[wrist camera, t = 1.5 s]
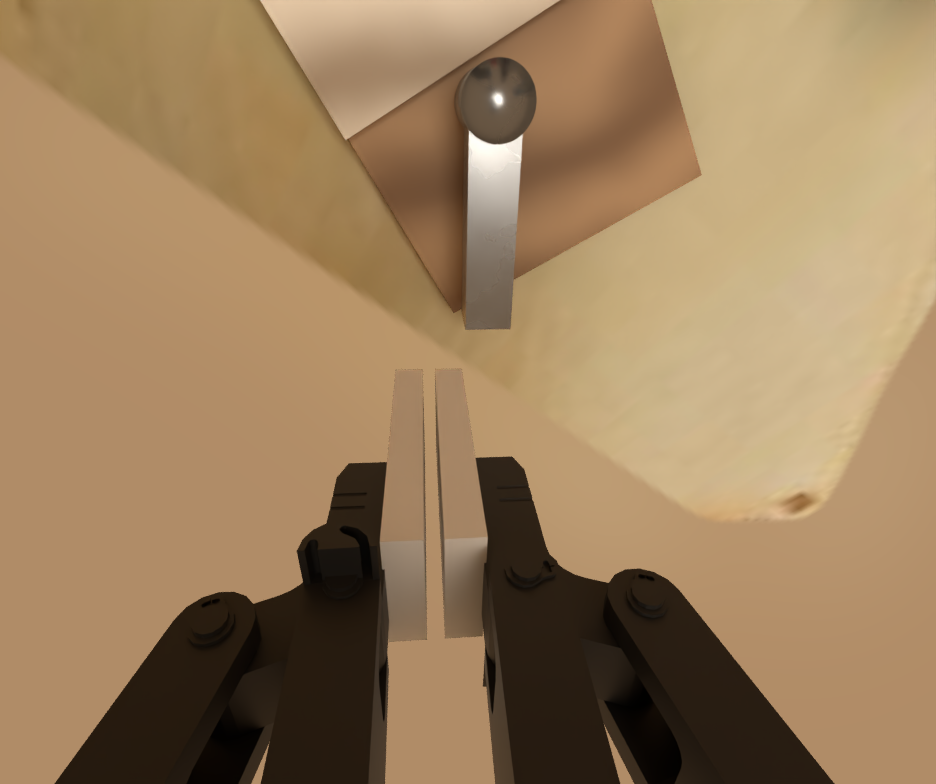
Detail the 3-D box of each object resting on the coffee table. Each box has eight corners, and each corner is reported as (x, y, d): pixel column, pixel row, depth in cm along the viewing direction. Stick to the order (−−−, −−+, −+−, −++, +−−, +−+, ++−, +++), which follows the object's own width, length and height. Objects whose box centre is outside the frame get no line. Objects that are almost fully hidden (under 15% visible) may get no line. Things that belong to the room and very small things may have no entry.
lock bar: (454, 64, 25) (461, 55, 21) (519, 65, 25) (539, 58, 21) (453, 301, 31) (458, 334, 27) (505, 301, 31) (519, 333, 27)
